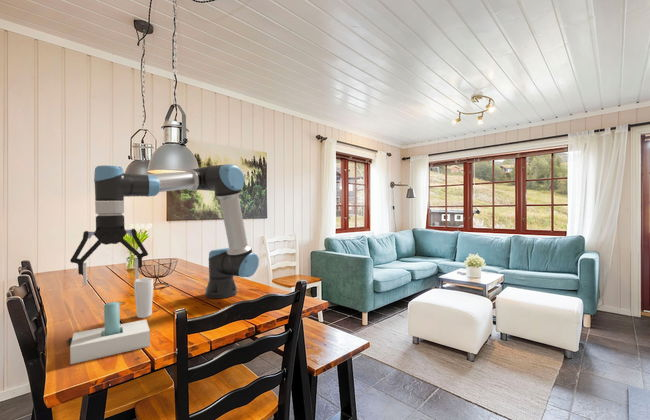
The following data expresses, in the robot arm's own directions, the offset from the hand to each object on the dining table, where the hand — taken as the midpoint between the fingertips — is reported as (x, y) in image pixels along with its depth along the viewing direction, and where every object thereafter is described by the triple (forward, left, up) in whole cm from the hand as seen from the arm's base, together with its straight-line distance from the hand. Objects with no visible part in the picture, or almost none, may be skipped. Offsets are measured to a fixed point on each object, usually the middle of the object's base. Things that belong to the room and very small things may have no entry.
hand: (112, 281), depth 100 cm
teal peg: (0, 0, -21) cm, 21 cm away
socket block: (0, 0, -21) cm, 21 cm away
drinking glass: (-11, -26, -21) cm, 35 cm away
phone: (+5, -13, -22) cm, 26 cm away
